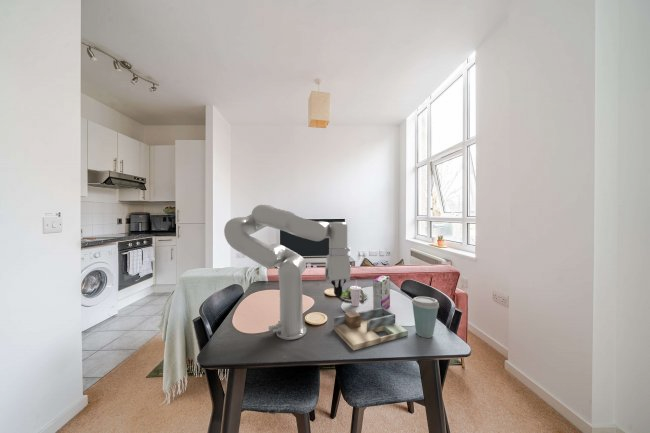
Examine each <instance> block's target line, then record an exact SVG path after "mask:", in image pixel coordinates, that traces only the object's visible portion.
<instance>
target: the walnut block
mask: <svg viewBox="0 0 650 433" xmlns="http://www.w3.org/2000/svg"><path fill="white" fill-rule="evenodd" d="M344 315H345V325H346V326H348V327H349V328H350V329H353V328H358V327H361V315H360V314H358V312H357V311H356V310H352V311H347V312H344Z"/></svg>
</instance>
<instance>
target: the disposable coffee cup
mask: <svg viewBox="0 0 650 433" xmlns="http://www.w3.org/2000/svg"><path fill="white" fill-rule="evenodd" d="M411 303H412V310H413V312H412V313H413V318H414V326H415V333H416V334H417V335H418V336H420V337H422V338H425V339H427V338H429V339H430V338H432V337H433V336H434V331H435V328H436V327H435V326H436V321H437V317H438V311H439V308H440V303H439V301H438V300H437V299H436V298H434V297H429V296H416V297H413V298H412V300H411Z"/></svg>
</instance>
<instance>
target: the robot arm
mask: <svg viewBox="0 0 650 433" xmlns="http://www.w3.org/2000/svg"><path fill="white" fill-rule="evenodd" d="M266 227H267V228H268V227H269V228H272V229H275V230H276V229H277V230H279V231H283V232H286V233H288V234H291V235H294V236H295V237H298V238H299V237H300V238H302V239H306V240H310V241H314V242H321V241H323V240H325V239H328V241H329V242H328V248H329V249H328V254H327V255H326V260H325V266H324V267H325V268H324V277H325V283H326V284H331V285H332V286H333V294H334V296H336V297H337V298H340V297H341V296H342V291H343V287H344V285H345V283H347V282H349V281H350V280H351V262H350V261H351V260H350V255H349V254H348V253H349V252H351V249H350V248H349V247H348V224H347V222H345V221H332V222H330V221H329V222H328V221H323V220H321V221H320V220H319V221H316V220H311V219H308V218H303V217H301V216H298V215H296V214H295V213H294V212H292V211H288V210H285V209H280V208H277V207H274V206H273V205H271V204H259V205H256V206H255V207H254V208H253V209H252V211H251V214H249V215H247V216H241V217H239V216H238V217H233V218H231V219H229V220H228V221H227V222H226V223H225V225H224V231H223V232H224V233H223V235H224V238H225V240H226V242H227V244H228V245H229V246H230V247H231V248H232V249H234V250H235V251H236V252H238V253H240V254H242V255H243V256H246V257H247V258H249V259H250V260H252V261H254V262H255V263H257V264H259V265H260V266H262V267H264V268H267V269H273V268H275V267H277V266H278V272H277V276H278V285H279V286H278V287H279V320H278V321H277V322H278V323H276V324H275V325H269V326H268V331H269V332H273V333H276V336H277V337H278V338H280V339H281V340H285V341H286V340H287V341H292V340H297V339H300V338H303V337H304V336H305V335H306V333H307V326H305V325H304V323H303V322H304V321H303V314H304V313H303V282H302V281H303V280H302V276H303V273H304V272H305V270H306V267H307V262H306V259H305V258H304V257H303V256H302V255H300V253H299V254H298V252H295V251H294V250H291V249H290V248H288V247H286V246H285V245H282V244H280V243H272V244H268V243H266V242H263V241H261V240H260V239H259V238H256V237H254V236H251V235H252V234H255V233H257V232H258V231H260V230H262V229H264V228H266ZM339 296H340V297H339Z"/></svg>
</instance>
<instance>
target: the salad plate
mask: <svg viewBox="0 0 650 433" xmlns="http://www.w3.org/2000/svg"><path fill="white" fill-rule="evenodd" d="M350 287H351V286H349V287H347V289H346V290H342V296H341V297H340V296H339V297H338V298H340V299H341V300H343V301H345V302H348V303H352V300H351V292H350ZM368 297H369V295H368V294H366V293H365V292H364V291H363V289H361V292H360V300H359V302H366V299H368Z"/></svg>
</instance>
